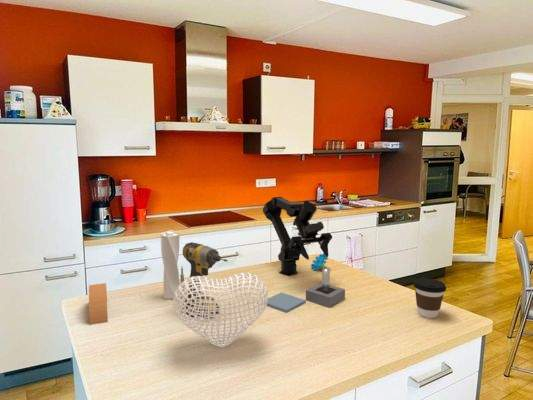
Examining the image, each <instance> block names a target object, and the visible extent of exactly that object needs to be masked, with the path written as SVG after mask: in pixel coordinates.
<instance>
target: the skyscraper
mask: <svg viewBox="0 0 533 400" xmlns="http://www.w3.org/2000/svg"><path fill="white" fill-rule="evenodd" d="M160 249H161V251H160V252H161V260H162V264H163V285H162V286H163V300H173V299H174V295H175V291H176V289H177V288H178V286H179V285H180V284H181V283H182V282H183V281H184V280H185V274H184V268H183V267H181V269H180V270H181V271H180V272H179V266H178V261H179V255H180V234H179V233H178V231H177V230H172V229H171V230H166V231H164V232H161V233H160ZM184 287H185V285H184V286H183V287H182V288H184ZM185 290H186V289H185ZM185 290H184V291H185ZM182 291H183V290H182ZM179 292H180V290H179ZM179 292H178V293H179ZM180 294H182V293H180ZM178 298H179V296H178ZM181 300H183V295H182V296H181Z"/></svg>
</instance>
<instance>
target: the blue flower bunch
mask: <svg viewBox="0 0 533 400" xmlns="http://www.w3.org/2000/svg"><path fill="white" fill-rule="evenodd" d="M328 259H329V256H328V257H326V256H325V254H324V253H320V254H319V255H317V256H315V259H313V260H312V263H311V264H310V266H311V267H310V268H311V270H314V271H317V270H320V268H321V269H322V268H328V267H327V266H326V263H327V260H328Z"/></svg>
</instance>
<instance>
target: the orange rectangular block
mask: <svg viewBox="0 0 533 400" xmlns="http://www.w3.org/2000/svg"><path fill="white" fill-rule="evenodd" d="M107 301H108V295H107V283H106V282H105V283H104V282H103V283H96V284H89V285H88V313H89V325H91V326H92V325H96V324H105V323H108V322H109V319H108V302H107Z"/></svg>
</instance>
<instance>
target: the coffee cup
mask: <svg viewBox="0 0 533 400" xmlns="http://www.w3.org/2000/svg"><path fill="white" fill-rule="evenodd" d="M412 285H413V287H414V288H415V289H414V291H415V292H414V293H415V302H416V303H415V304H416V306H417V312H418V314H419V315H420V317H422V318H425V319H426V318H427V319H435V318H437V317H438V316H439V311H440V309H441V307H442V302H443V298H444V293H445V292H446V291H447V285H446V284H445V283H444V282H443V281H441V280H439V279H435V278H429V277H428V278H427V277H420V278H416V279H415V280H414V282H413V284H412Z"/></svg>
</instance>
